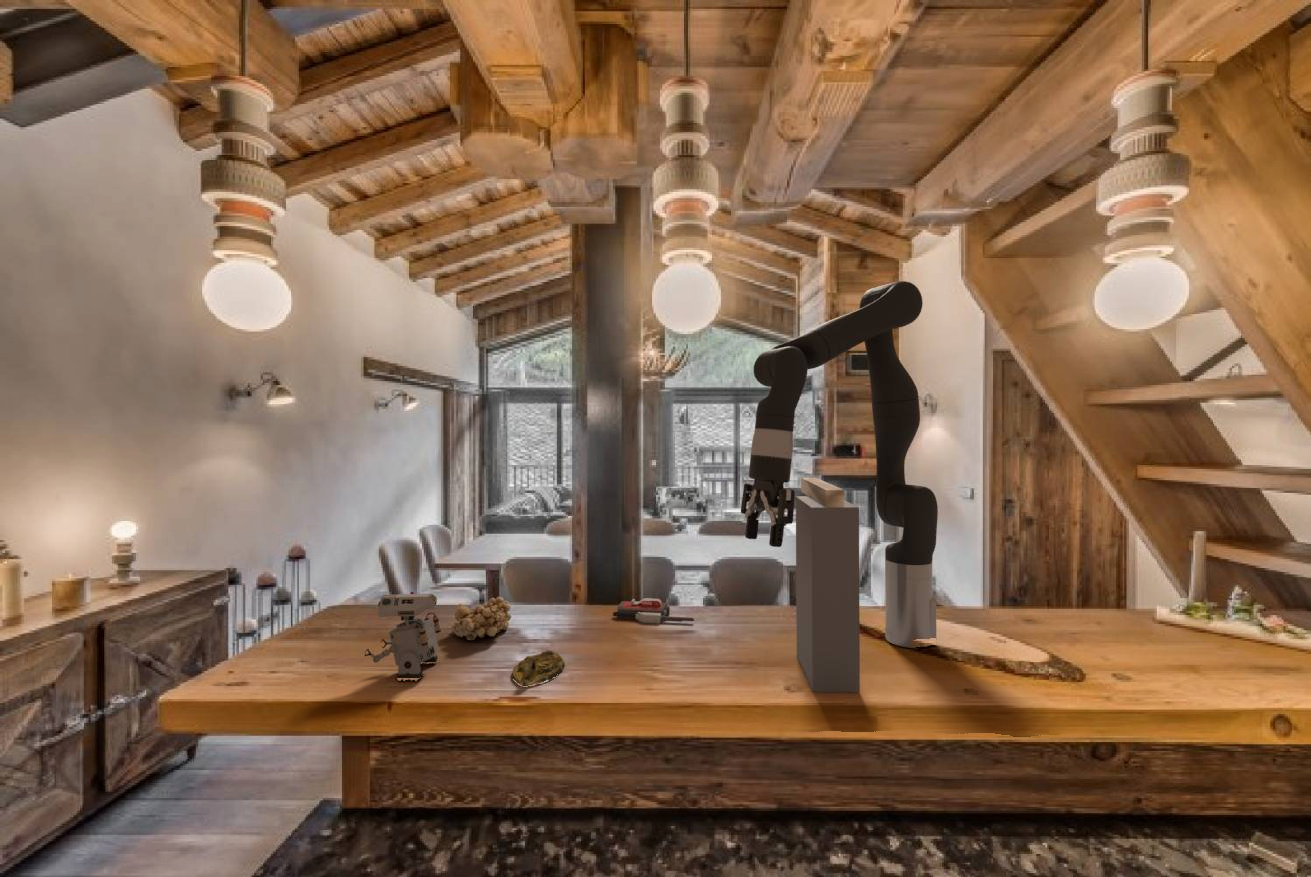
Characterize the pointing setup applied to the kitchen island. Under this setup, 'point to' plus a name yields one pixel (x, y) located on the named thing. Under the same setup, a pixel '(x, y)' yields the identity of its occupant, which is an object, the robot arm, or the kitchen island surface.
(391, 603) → the figurine
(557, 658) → the olive green oval lump
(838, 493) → the wooden bar
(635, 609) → the red black elongated piece
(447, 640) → the kitchen island surface
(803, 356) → the robot arm
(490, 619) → the mineral formation
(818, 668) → the charcoal plinth
